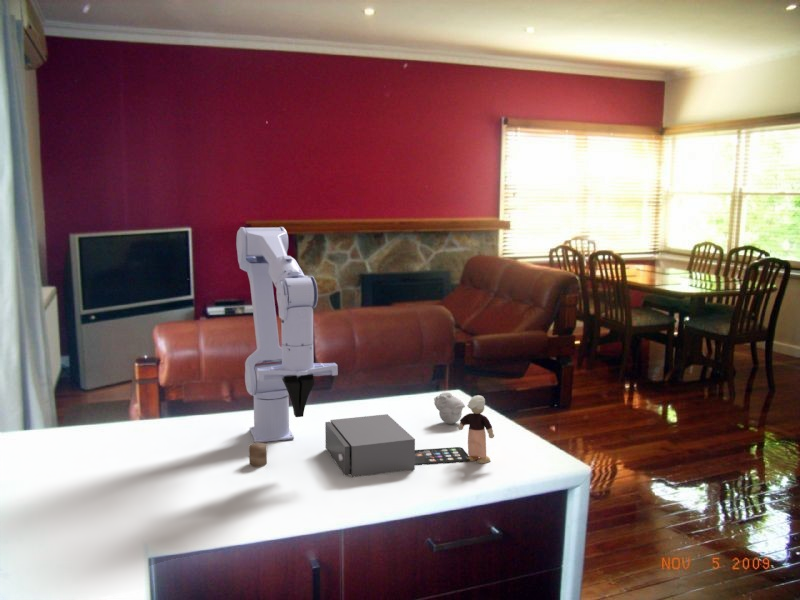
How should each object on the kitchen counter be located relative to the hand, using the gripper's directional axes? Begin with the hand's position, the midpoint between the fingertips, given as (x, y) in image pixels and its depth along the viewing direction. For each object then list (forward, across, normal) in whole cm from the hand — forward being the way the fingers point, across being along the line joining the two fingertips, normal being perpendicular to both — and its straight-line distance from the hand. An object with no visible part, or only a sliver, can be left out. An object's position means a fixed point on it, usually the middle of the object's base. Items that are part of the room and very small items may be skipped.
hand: (298, 415), depth 127 cm
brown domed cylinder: (+10, -7, +4) cm, 13 cm away
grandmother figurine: (+10, +33, -7) cm, 35 cm away
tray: (+10, +12, 0) cm, 16 cm away
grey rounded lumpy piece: (+10, +37, +15) cm, 41 cm away
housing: (+10, +14, 0) cm, 17 cm away
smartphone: (+10, +25, -3) cm, 27 cm away
